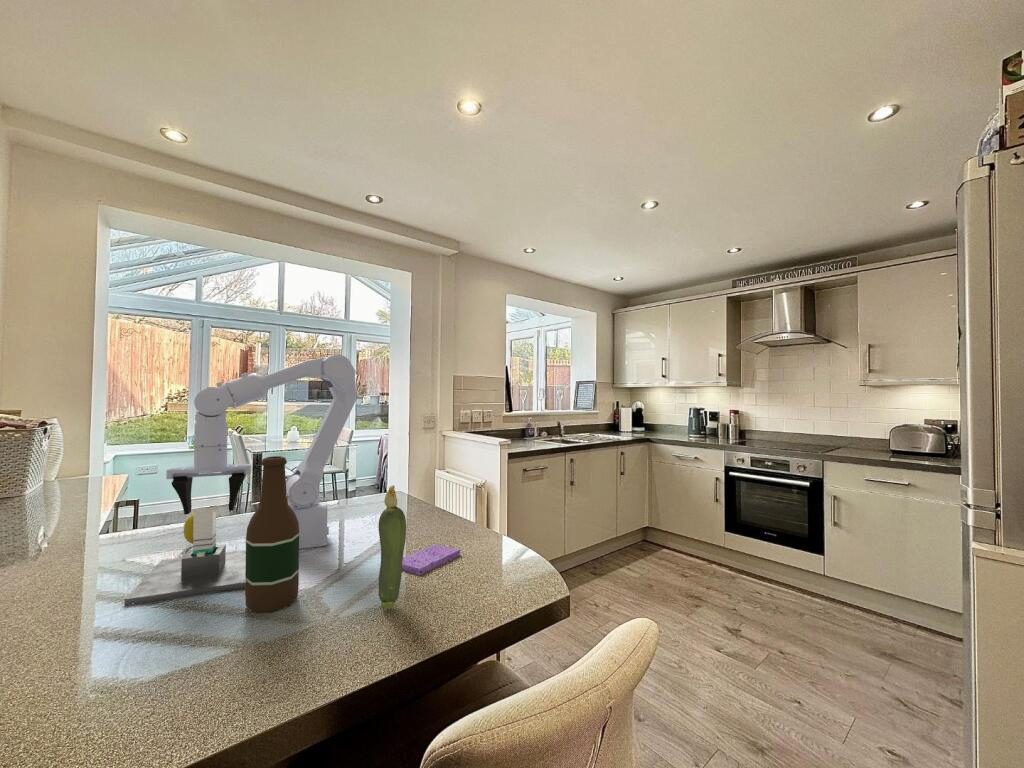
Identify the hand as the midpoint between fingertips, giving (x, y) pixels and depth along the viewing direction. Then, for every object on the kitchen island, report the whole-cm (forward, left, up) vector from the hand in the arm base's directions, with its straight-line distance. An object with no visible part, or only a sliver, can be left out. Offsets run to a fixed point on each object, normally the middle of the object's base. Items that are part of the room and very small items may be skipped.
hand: (210, 511), depth 92 cm
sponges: (-42, +18, -11) cm, 47 cm away
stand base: (-1, +9, -10) cm, 13 cm away
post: (-1, +9, -6) cm, 11 cm away
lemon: (+4, -10, -10) cm, 15 cm away
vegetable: (-32, +35, -10) cm, 48 cm away
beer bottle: (-14, +26, -10) cm, 31 cm away
